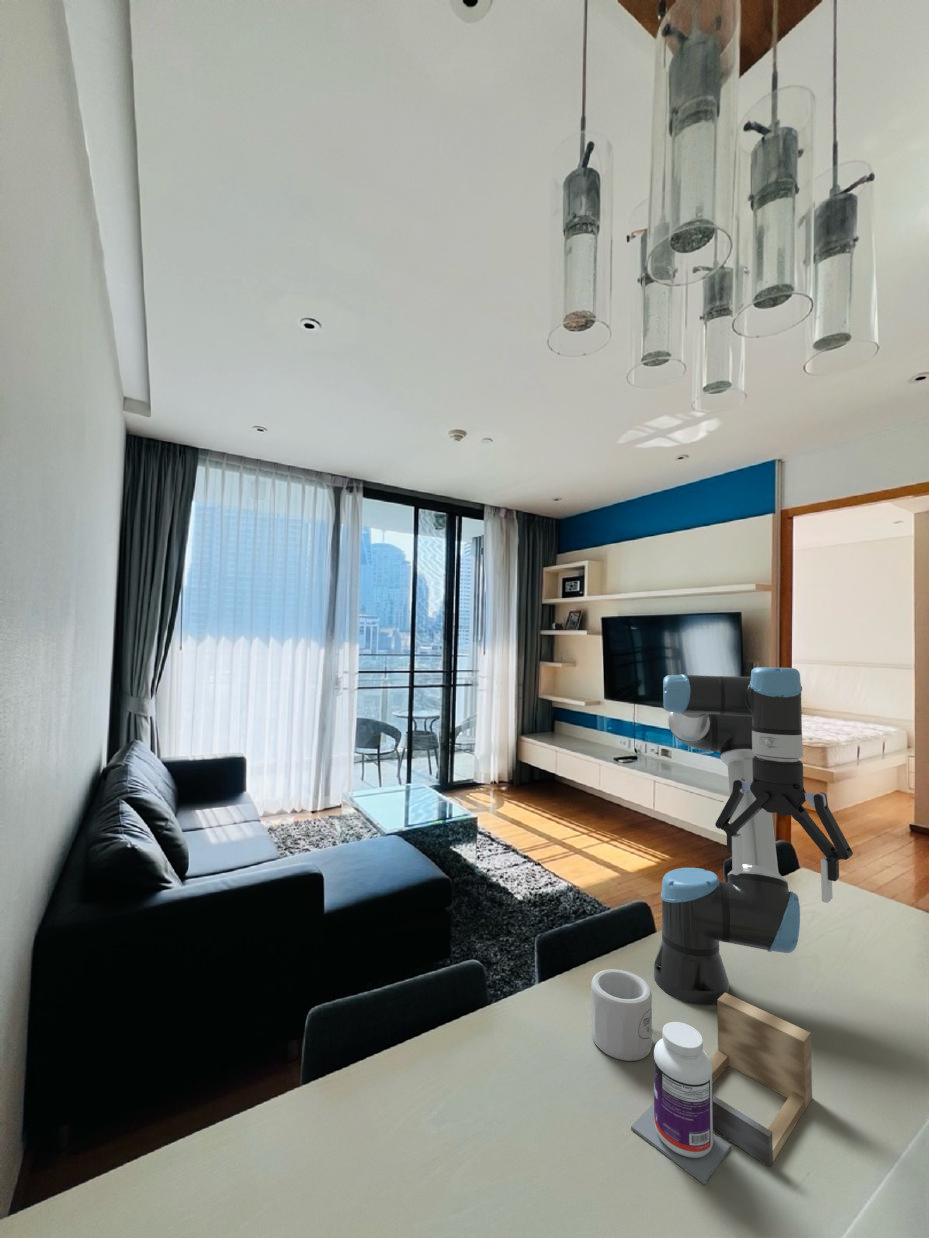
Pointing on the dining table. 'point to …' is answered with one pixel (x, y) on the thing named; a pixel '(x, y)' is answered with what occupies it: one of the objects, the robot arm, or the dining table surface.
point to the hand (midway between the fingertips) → (780, 885)
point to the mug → (621, 1014)
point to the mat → (694, 1166)
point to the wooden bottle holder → (761, 1073)
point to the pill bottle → (683, 1091)
